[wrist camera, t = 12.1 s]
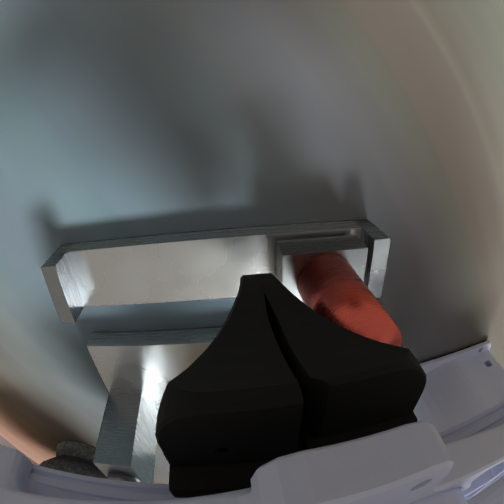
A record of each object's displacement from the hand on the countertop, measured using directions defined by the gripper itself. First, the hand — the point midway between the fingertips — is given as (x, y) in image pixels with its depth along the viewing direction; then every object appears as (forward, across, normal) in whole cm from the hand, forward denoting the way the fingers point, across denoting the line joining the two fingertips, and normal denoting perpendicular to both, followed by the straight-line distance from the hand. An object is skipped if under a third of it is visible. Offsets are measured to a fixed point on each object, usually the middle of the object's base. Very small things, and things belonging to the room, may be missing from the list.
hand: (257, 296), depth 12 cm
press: (+3, +4, +10) cm, 11 cm away
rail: (+3, +2, 0) cm, 4 cm away
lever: (+2, -3, 0) cm, 4 cm away
